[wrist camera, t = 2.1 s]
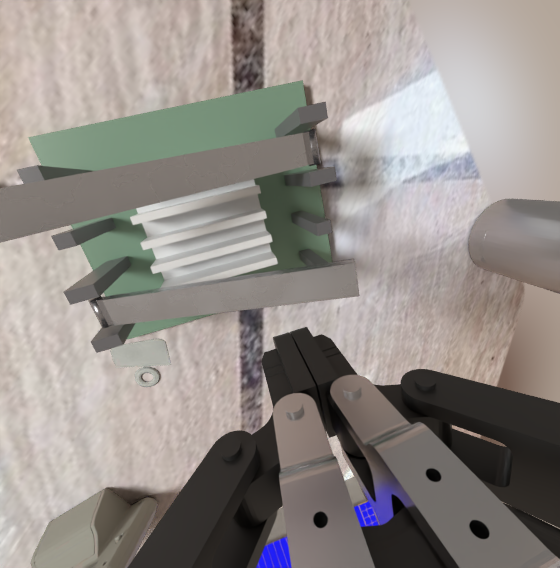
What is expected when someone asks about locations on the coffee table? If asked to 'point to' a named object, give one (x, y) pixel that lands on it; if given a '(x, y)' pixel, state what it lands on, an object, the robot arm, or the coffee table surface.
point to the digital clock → (96, 533)
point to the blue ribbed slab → (276, 551)
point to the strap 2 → (230, 294)
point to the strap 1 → (146, 183)
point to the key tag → (142, 358)
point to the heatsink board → (192, 201)
